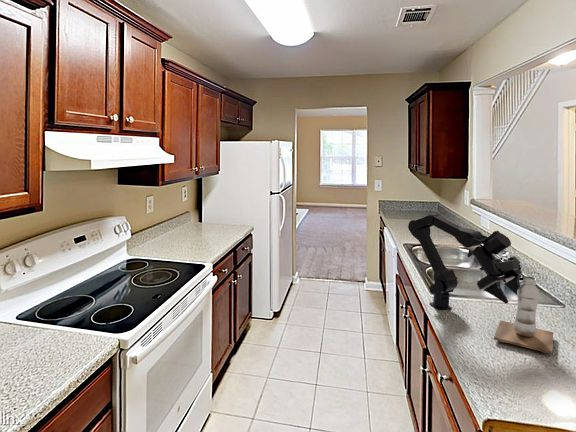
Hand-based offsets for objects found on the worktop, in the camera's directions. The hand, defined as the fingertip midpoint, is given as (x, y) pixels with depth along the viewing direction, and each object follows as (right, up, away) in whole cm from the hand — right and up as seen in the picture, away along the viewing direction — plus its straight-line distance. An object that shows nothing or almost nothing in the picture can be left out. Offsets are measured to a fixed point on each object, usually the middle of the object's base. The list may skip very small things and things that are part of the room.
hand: (514, 300), depth 129 cm
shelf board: (+2, -13, -1) cm, 13 cm away
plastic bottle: (+2, -11, -2) cm, 12 cm away
